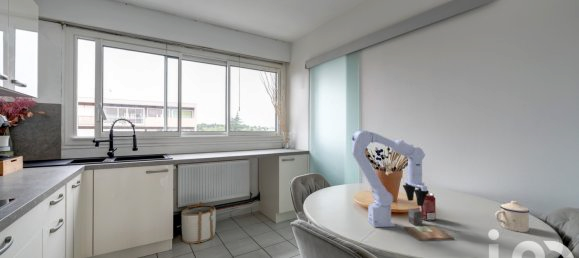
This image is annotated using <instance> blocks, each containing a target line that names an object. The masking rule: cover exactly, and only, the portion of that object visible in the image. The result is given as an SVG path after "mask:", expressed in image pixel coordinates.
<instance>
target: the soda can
mask: <svg viewBox="0 0 579 258" xmlns="http://www.w3.org/2000/svg"><path fill="white" fill-rule="evenodd" d="M418 207H419V209H418V210H420V211H422V220H424V221H428V222H432V221H434V220H436V216H437V215H436V197H435V195H434V193H431V192H429V193H428V194H427V196H426V197H425V200H424V204H423V206H418Z"/></svg>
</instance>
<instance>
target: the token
mask: <svg viewBox="0 0 579 258" xmlns="http://www.w3.org/2000/svg"><path fill="white" fill-rule="evenodd" d="M408 223H410V224H411V225H412V226H423V219H422V211H420V210H419V209H418V208H408Z"/></svg>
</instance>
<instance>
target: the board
mask: <svg viewBox="0 0 579 258" xmlns="http://www.w3.org/2000/svg"><path fill="white" fill-rule="evenodd" d="M403 229H404V231H406V232H407V233H409V234H410V235H411V237H414V238H415V239H416V240H418V241H419V242H423V241H451V240H455V237H453V235H450V234H449V233H447V232H445V231H444V230H442V229H441V228H439V227H437V226H436V225H431V226H430V225H429V226H428V225H427V226H425V225H424V226H423V225H419V226H404V227H403Z"/></svg>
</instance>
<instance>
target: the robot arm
mask: <svg viewBox="0 0 579 258" xmlns="http://www.w3.org/2000/svg"><path fill="white" fill-rule="evenodd" d="M350 140H351V155H352V156H353V158H354V159H355V161H356V163H357V165H358V167H359V168H360V170H361V172H362V173H363V175H364V178H365V179H366V181H367V183H368V184H369V186H370V190H371V195H372V197H373V199H374V201H373V203H372V204H371V203H370V204H368V207H367V211H368V212H367V215H368V216H367V217H368V218H367V221H368V222H369V223H370V224H371V226H373V227H374V228H380V227H382V228H384V227H388V228H389V227H396V225H395V224H394V223H393V222H392V203H393V201H394V195H392V193H391V192H389V191H388V189H387V188H386V187H385V186H384V184H383V183H382V181H381V180H380V178H379V176H378V175H377V173H376V171H375V169H374V167H373V165H372V164H371V163H370V160H369V159H368V156H367V155H366V154H365V152H366V149H367V147H368V146H369V145H370V144H371V143H372V144H375V143H377V144H381V145H384V146H386V147H388V148H390V149H391V150H392V152H394V153H395V154H396V153H397V154H399V155H401V156H404V157H406V158H407V178H408V179H404V180H403V181H404V184H402V188H403V189H404V191H405V194H406V198H407V201H410V202H411V201H414V198H415V197H416V203H417V206H418V207H419V206H423V204H424V200H425V197H426V196H427V194H428V193H430V192H429V190H428V186H426V185H425V182H423V160H424V158H425V156H426V153H425V152H424V150H423V149H422V148H420V147H416V146H414V144H413V143H412V144H410V143H407V142H405V141H404V140H403V139H400V140H399V139H397V140H395V141H394V140H392V139H390V138H387V137H385V136H382V135H381V134H378V133H376V132H371V131H368V130H356V131H355V132H354V133H353V135H352V137H351V139H350ZM414 194H415V195H414ZM414 196H415V197H414Z"/></svg>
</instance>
